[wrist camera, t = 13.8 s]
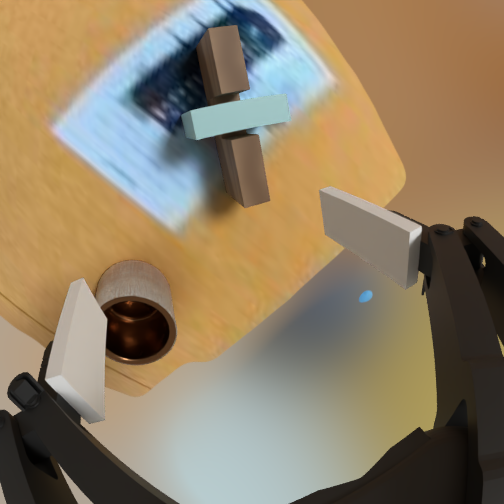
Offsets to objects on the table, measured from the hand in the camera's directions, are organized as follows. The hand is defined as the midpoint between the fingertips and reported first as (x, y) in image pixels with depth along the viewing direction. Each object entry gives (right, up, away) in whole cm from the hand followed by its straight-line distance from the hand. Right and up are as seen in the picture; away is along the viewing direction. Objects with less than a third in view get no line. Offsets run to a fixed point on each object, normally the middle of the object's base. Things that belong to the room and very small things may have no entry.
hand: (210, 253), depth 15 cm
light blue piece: (-2, +17, +20) cm, 26 cm away
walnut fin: (-2, +17, +20) cm, 26 cm away
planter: (-15, -6, +26) cm, 30 cm away
